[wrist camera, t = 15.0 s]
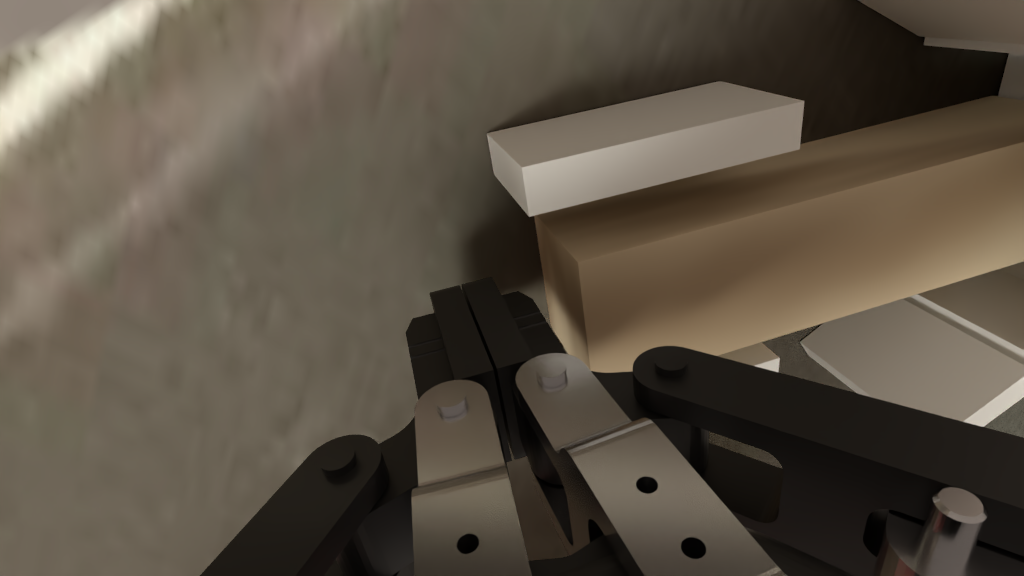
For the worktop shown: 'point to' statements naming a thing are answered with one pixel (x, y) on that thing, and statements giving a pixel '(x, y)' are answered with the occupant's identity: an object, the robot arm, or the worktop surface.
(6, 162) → the worktop surface
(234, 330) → the worktop surface
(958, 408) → the cap
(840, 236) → the slat
